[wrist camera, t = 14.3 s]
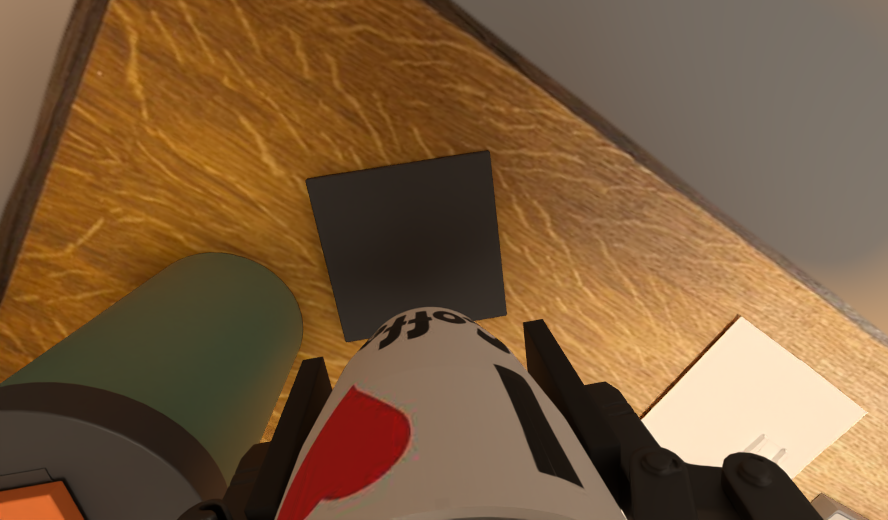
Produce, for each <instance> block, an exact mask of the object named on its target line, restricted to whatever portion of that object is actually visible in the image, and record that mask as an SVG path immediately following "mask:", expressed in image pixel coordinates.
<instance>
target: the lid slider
mask: <svg viewBox="0 0 888 520" xmlns="http://www.w3.org/2000/svg"><path fill="white" fill-rule="evenodd" d="M0 520H84V518H83V516H82V515H81V513H80V511H79V509H78V508H77V506H76V504H75V502H74V501H73V499H72V497H71V495H70V494H69V492H68V490H67V488H66V487H65V485H64V483H63V482H62V481H57V482H52V483H46V484H40V485H34V486H29V487H23V488H17V489H11V490H6V491H0Z"/></svg>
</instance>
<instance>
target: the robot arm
mask: <svg viewBox="0 0 888 520" xmlns="http://www.w3.org/2000/svg"><path fill="white" fill-rule="evenodd" d="M523 327H524V338H525V348H526V359H527V369H528V373H529V374H530V375H531V377H532V378H533V379H534V380H535V382H536V383H537V384H538V385H539V387H540V388H541V389H542V390H543V392H544V393H545V394H546V395H547V396H548V398H549V399H550V400H551V401H552V403H553V404H554V405H555V406H556V408H557V409H558V410H559V411H560V413H561V414H562V415H563V416H564V418H565V419H566V421H567V422H568V424H569V426H570V427H571V429H572V430H573V432H574V434H575V435H576V437H577V439H578V440H579V442H580V444H581V445H582V447H583V449H584V450H585V452H586V454H587V455H588V457H589V459H590V460H591V462H592V464H593V465H594V467H595V468H596V470H597V472H598V473H599V475H600V477H601V478H602V480H603V482H604V483H605V485H606V487H607V488H608V490H609V492H610V493H611V495H612V497H613V498H614V500H615V502H616V503H617V505H618V506H619V508H620V510H621V509H622V511H623V513H624V515H625V517H626V519H627V520H824V519H823V518H822V517H821V516H820V514H819V513H818V512H817V511H816V510H815V508H814V507H813V506H812V505H811V503H810V502H809V501H808V500H807V498H806V497H805V496H804V495H803V493H802V492H801V491H800V490H799V488H798V487H797V486H796V485H795V483H794V482H793V481H792V480H791V478H790V477H789V476H788V475H787V474H786V472H785V471H784V470H783V469H782V468H781V467H779V466H778V465H777V464H776V463H775V462H773V461H771V460H769V459H767V458H765V457H763V456H760V455H757V454H754V453H746V452H737V453H733V454H730V455H728V456H727V457H726V458H725V459H724V461H723V465H722V467H715V466H703V465H695V464H689V463H686V462H684V461H683V460H682V459H681V458H680V457H679V456H678V455H677V454H676V453H674V452H672V451H670V450H668V449H666V448H662V447H660V445H659V444H658V443H657V441H656V440H655V439H654V437H653V436H652V434H651V433H650V432H649V430H648V429H647V428H646V426H645V425H644V424H643V422H642V421H641V420H640V418H639V417H638V415H637V414H636V413H634V410H633V409H632V407H631V406H630V405H629V404H628V403H627V401H626V399H625V398H624V397H623V395H622V394H621V392H620V391H619V390H618V389H616V388H615V387H613V386H612V385H610V384H608V383H607V382H600V383H594V384H588V385H584V384H583V383H582V381H581V379H580V378H579V376H578V375H577V373H576V371H575V370H574V368H573V367H572V365H571V363H570V362H569V360H568V359H567V357H566V356H565V354H564V352H563V351H562V349H561V348H560V346H559V344H558V343H557V341H556V340H555V338H554V336H553V335H552V333H551V332H550V330H549V329H548V327H547V325H546V324H545V322H544V321H543V319H540V320H534V321H529V322H523ZM331 392H332V387H331V384H330V380H329V377H328V373H327V369H326V366H325V362H324V359H323V357H318V358H312V359H307V360H303V361H302V364H301V366H300V369H299V371H298V374H297V376H296V379H295V382H294V384H293V387H292V389H291V392H290V394H289V397H288V399H287V402H286V404H285V407H284V410H283V412H282V415H281V417H280V420H279V422H278V425H277V427H276V430H275V433H274V435H273V438H272V440H271V441H270V442H265V443H259V444H254V445H253V446H252V447H251V448H250V449H249V450H248V451H247V452H246V453H245V455H244V456H243V457H242V458H241V460H240V462H239V464H238V467H237V469H236V471H235V475H233V478H232V480H231V482H230V486H228V488H227V491H226V493H225V495H224V497H223V499H222V500H221V499H209V500H206V501H203V502H200V503H198V504H196V505H194V506H193V507H191V508H189V509H188V510H187V511H186V512H184V513H183V514H182V515H181V516H180V517H179V518H178V519H177V520H275V517H276V514H277V512H278V509H279V506H280V504H281V501H282V498H283V496H284V493H285V490H286V488H287V485H288V482H289V480H290V477H291V474H292V472H293V469H294V466H295V464H296V461H297V459H298V456H299V453H300V451H301V449H302V446H303V444H304V443H305V441H306V439H307V437H308V435H309V433H310V431H311V430H312V428H313V426H314V424H315V422H316V420H317V418H318V417H319V415H320V413H321V411H322V409H323V407H324V405H325V404H326V402H327V400H328V398H329V396H330V394H331Z"/></svg>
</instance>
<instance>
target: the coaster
mask: <svg viewBox="0 0 888 520" xmlns="http://www.w3.org/2000/svg"><path fill="white" fill-rule="evenodd" d="M306 185H307V189H308V193H309V197H310V201H311V205H312V209H313V213H314V217H315V221H316V225H317V229H318V233H319V237H320V241H321V245H322V249H323V253H324V257H325V261H326V265H327V269H328V273H329V277H330V281H331V285H332V289H333V293H334V297H335V301H336V305H337V309H338V313H339V317H340V321H341V325H342V329H343V333H344V337H345V341H346V342H351V341H357V340H363V339H369V338H371V337H372V335H373V334H374V333H375V332H376V331H377V330H378V329H379V328H380V327H381V326H382V325H383V324H384V323H386V322H387V321H388V320H390V319H391V318H393V317H394V316H396V315H398V314H400V313H403V312H406V311H409V310H412V309H416V308H423V307H439V308H445V309H450V310H453V311H456V312H458V313H461V314H463V315H465V316H466V317H468V318H470V319H471V320H472V321H476V320H482V319H488V318H494V317H500V316H506V315H507V311H506V301H505V292H504V282H503V273H502V263H501V254H500V244H499V235H498V225H497V216H496V206H495V196H494V187H493V177H492V168H491V158H490V152H489V151H488V150H486V151H480V152H473V153H467V154H461V155H454V156H448V157H442V158H435V159H429V160H422V161H416V162H410V163H403V164H397V165H390V166H384V167H378V168H371V169H365V170H358V171H352V172H346V173H339V174H333V175H326V176H320V177H314V178H308V179H306Z"/></svg>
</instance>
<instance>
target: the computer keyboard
mask: <svg viewBox="0 0 888 520" xmlns="http://www.w3.org/2000/svg"><path fill="white" fill-rule="evenodd" d="M811 505H812V506H813V507H814V508H815V510H816V511H817V512H818V513H819V514H820V516H821V517H822V518H823V519H824V520H868V519H866V518H865V517H863V516H861V515H859V514H857V513H856V512H854V511H852V510H850V509H849V508H847V507H845V506H843V505H841V504H840V503H838V502H836V501H834V500H833V499H831V498H829V497H827V496H825V495H824V494H822V493H821V494H820V495H819V496H818V497H817V498H816V499H814V500H813V501H812V502H811Z"/></svg>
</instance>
